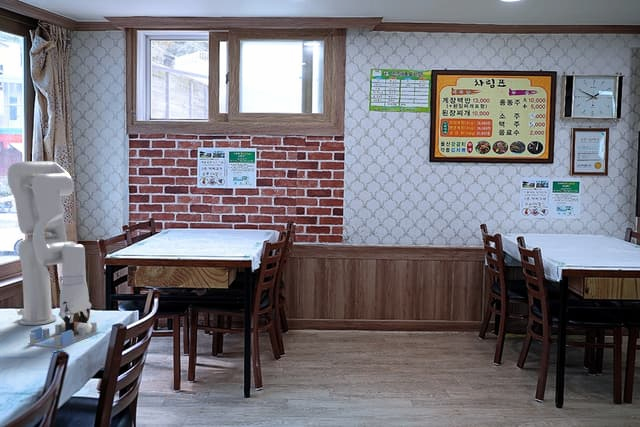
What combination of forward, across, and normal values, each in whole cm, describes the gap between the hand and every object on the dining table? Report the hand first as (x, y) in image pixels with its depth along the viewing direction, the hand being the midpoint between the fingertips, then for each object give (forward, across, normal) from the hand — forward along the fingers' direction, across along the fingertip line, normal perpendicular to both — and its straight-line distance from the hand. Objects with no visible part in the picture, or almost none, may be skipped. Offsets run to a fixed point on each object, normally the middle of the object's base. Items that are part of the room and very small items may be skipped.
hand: (76, 330), depth 227 cm
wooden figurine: (+2, -13, -9) cm, 16 cm away
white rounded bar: (-1, 0, 0) cm, 1 cm away
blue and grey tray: (+1, +6, 0) cm, 6 cm away
